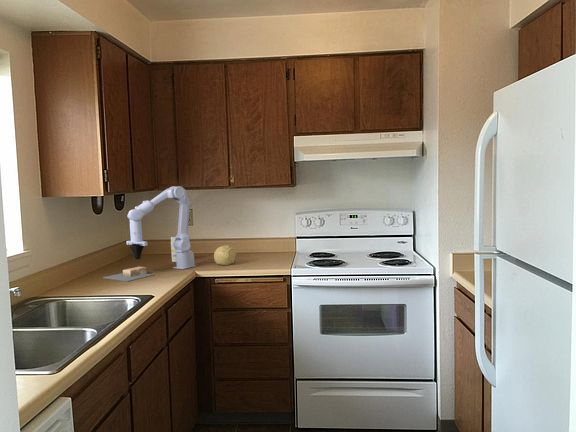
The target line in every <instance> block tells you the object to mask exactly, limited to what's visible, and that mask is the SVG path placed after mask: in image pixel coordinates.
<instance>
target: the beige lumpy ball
mask: <svg viewBox="0 0 576 432" xmlns="http://www.w3.org/2000/svg"><path fill="white" fill-rule="evenodd" d="M236 256H237V248H235V247H233V246H231V245H227V244H223V245H221V246H219V247H217V248H216V249H215V250H214V254H213V260H214V262H215V263H216V265H222V266H229V265H233V263H235V262H236Z"/></svg>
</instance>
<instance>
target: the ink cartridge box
mask: <svg viewBox="0 0 576 432" xmlns="http://www.w3.org/2000/svg"><path fill="white" fill-rule="evenodd" d="M175 239H176V236H170V251H171V252H170V253H171V262H172V263H174V262H175V263H176V249H175V248H174V245H173V244H174V241H175Z"/></svg>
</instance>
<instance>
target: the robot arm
mask: <svg viewBox="0 0 576 432" xmlns="http://www.w3.org/2000/svg"><path fill="white" fill-rule="evenodd" d="M167 199H173V200H175V201H176V202H177V203H178V204H179V209H178V221H177V233H176V235H175V237H176V239H175V241H174V244H173V245H174V248H175V249H176V262H175V263H176V264H175V265H176V266H173V267H172V268H173V269H176V270H177V269H178V270H179V269H180V270H187V269H189V268H194V267H196V266H197V265H195V263H196V262H195V254H194V252H193V251H192V250H191V247H192V245H191V241H190V235H189V219H190V206H191V201H190V198H189V196H188V194H187V190H186V189H185V188H184V187H183V186H179V185H178V186H175V185H174V186H170V187H169V188H166V189H165V190H163V191H162V192H161V193H159V194H158V195H156V196H155V197H154V198H152V199H151V200H143V201H142V203H141V204H139V205H136V206H135V207H134V209H133V208H132V209H131V210H128V214H127V215H126V216H127V219H128V220H129V233H130V234H129V235H130V240H126V246H129V248H130V249H131V251H132V253H133V257H134V259H135V260H141V257H142V252H143V249H144V248H145V246H146V247H147V246H148V245H149V244H148V241H144V240H143V229H142V228H143V227H142V219H143V217H145V216H146V215H148V214H149V213H151V212H152V211H153V210H154V207H155V206H156V205H158V204H159V203H160V204H161V202H162V201H165V200H167Z"/></svg>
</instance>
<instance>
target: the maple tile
mask: <svg viewBox="0 0 576 432" xmlns="http://www.w3.org/2000/svg"><path fill="white" fill-rule="evenodd" d="M122 273H123V276H128V277H132V276H137V275H141V274H148V270H147V266H146V267H145V266H136V267H131V268H130V267H129V268H125V269H123V270H122Z"/></svg>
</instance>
